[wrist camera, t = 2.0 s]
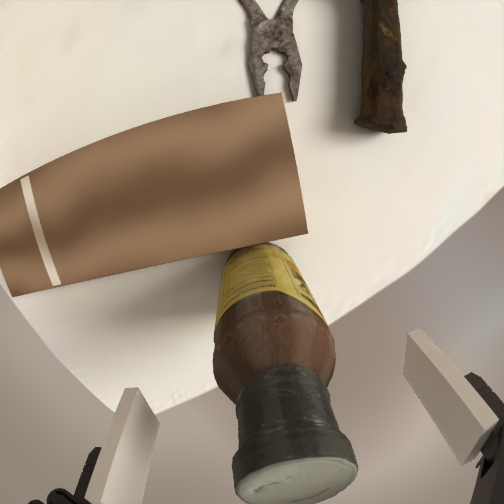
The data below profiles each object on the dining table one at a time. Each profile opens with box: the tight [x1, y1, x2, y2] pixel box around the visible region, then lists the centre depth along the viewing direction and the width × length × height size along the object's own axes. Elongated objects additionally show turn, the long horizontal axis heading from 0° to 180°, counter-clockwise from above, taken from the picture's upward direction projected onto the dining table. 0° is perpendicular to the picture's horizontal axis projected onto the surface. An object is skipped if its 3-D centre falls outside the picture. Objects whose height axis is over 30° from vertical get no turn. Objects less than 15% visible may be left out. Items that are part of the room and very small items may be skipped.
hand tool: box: [354, 0, 407, 134], centre depth 17 cm, size 19×4×5 cm, turn 174°
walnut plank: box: [0, 93, 308, 297], centre depth 21 cm, size 10×28×4 cm, turn 102°
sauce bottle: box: [213, 242, 358, 504], centre depth 16 cm, size 6×6×20 cm
